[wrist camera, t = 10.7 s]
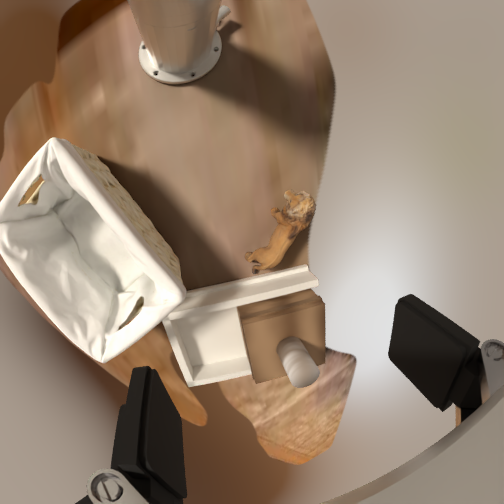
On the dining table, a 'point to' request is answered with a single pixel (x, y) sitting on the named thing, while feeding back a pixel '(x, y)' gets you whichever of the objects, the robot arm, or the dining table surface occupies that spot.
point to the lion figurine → (284, 229)
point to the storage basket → (87, 251)
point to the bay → (224, 323)
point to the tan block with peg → (285, 337)
